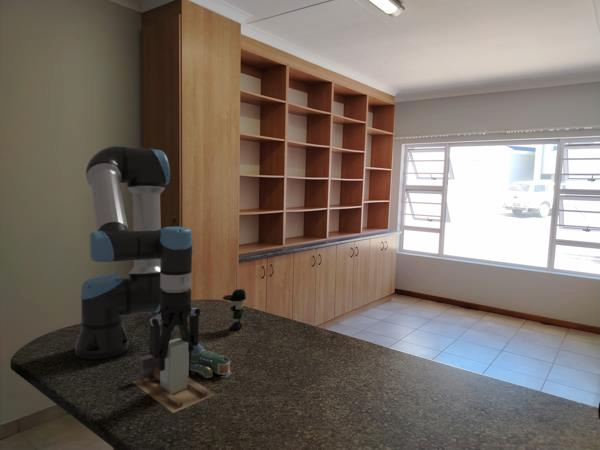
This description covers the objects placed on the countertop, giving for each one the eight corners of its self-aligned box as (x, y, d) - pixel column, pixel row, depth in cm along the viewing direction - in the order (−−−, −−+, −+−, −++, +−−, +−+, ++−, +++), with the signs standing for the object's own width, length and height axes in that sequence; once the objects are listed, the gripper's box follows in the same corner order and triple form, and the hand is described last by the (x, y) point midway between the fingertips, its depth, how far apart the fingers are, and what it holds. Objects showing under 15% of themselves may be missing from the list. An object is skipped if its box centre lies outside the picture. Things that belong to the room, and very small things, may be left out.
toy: (225, 323, 156) (226, 285, 155) (247, 325, 155) (248, 287, 154) (219, 330, 149) (220, 290, 147) (242, 332, 148) (243, 292, 146)
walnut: (150, 380, 108) (150, 364, 108) (165, 374, 111) (165, 359, 111) (158, 386, 105) (158, 370, 105) (173, 380, 108) (174, 364, 108)
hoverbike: (219, 388, 108) (219, 358, 107) (149, 366, 119) (149, 339, 118) (239, 374, 117) (240, 346, 116) (172, 354, 127) (172, 329, 127)
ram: (159, 387, 104) (160, 342, 103) (176, 380, 108) (177, 337, 107) (170, 394, 101) (170, 348, 100) (187, 387, 105) (188, 343, 103)
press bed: (132, 386, 107) (132, 360, 106) (173, 371, 116) (173, 347, 115) (173, 417, 94) (173, 388, 93) (215, 398, 103) (216, 371, 102)
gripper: (149, 298, 92) (148, 395, 95) (214, 286, 106) (212, 371, 108) (133, 291, 97) (133, 384, 100) (197, 280, 111) (196, 362, 113)
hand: (174, 377), depth 104 cm, fingers closed on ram, 5 cm apart
